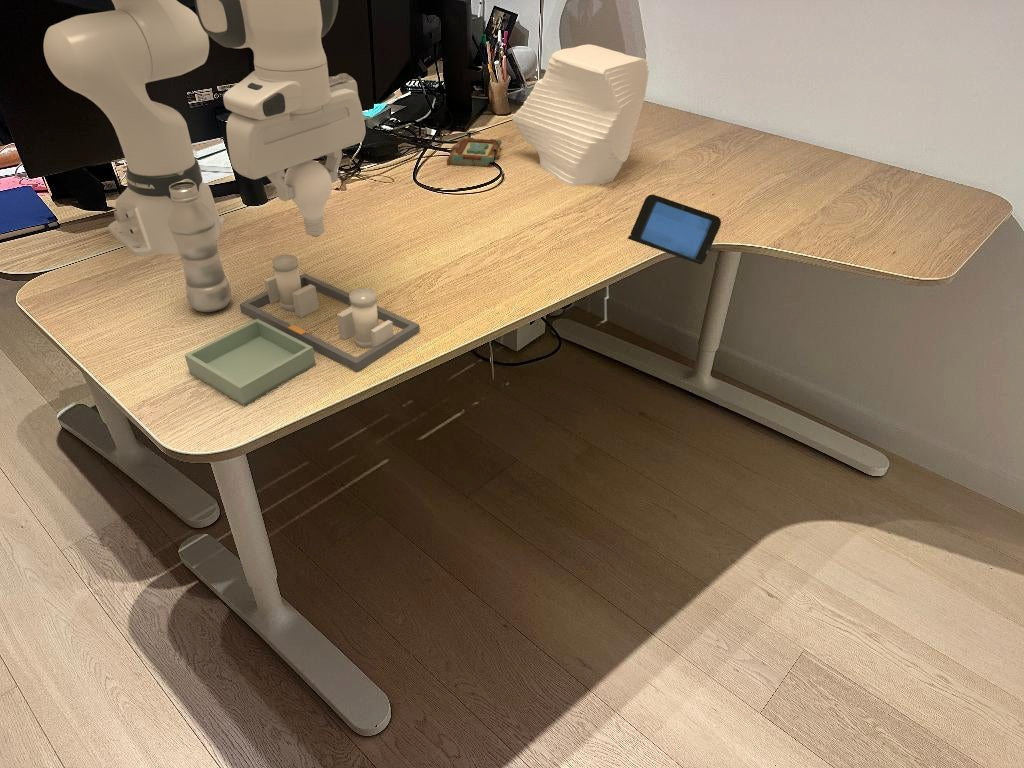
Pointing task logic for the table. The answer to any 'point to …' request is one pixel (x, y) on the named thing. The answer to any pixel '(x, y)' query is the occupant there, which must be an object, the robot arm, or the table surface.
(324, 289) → the rail
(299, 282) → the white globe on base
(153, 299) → the table surface
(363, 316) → the cylinder
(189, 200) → the plastic bottle
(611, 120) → the white ridged sculpture
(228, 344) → the tray
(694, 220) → the small black monitor
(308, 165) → the lightbulb
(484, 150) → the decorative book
